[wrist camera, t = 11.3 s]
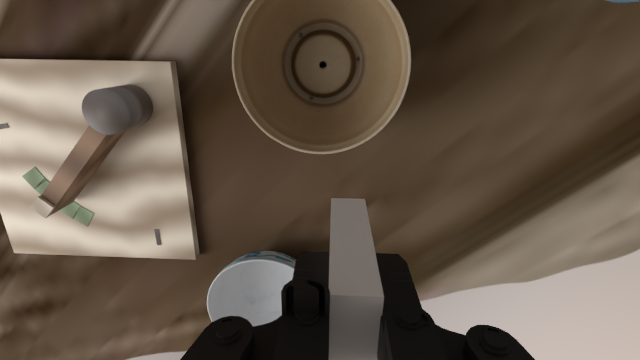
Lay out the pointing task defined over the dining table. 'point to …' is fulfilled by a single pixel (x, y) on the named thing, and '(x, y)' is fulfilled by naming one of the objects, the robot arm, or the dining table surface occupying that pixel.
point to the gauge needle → (95, 142)
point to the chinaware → (251, 287)
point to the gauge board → (111, 176)
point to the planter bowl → (321, 70)
